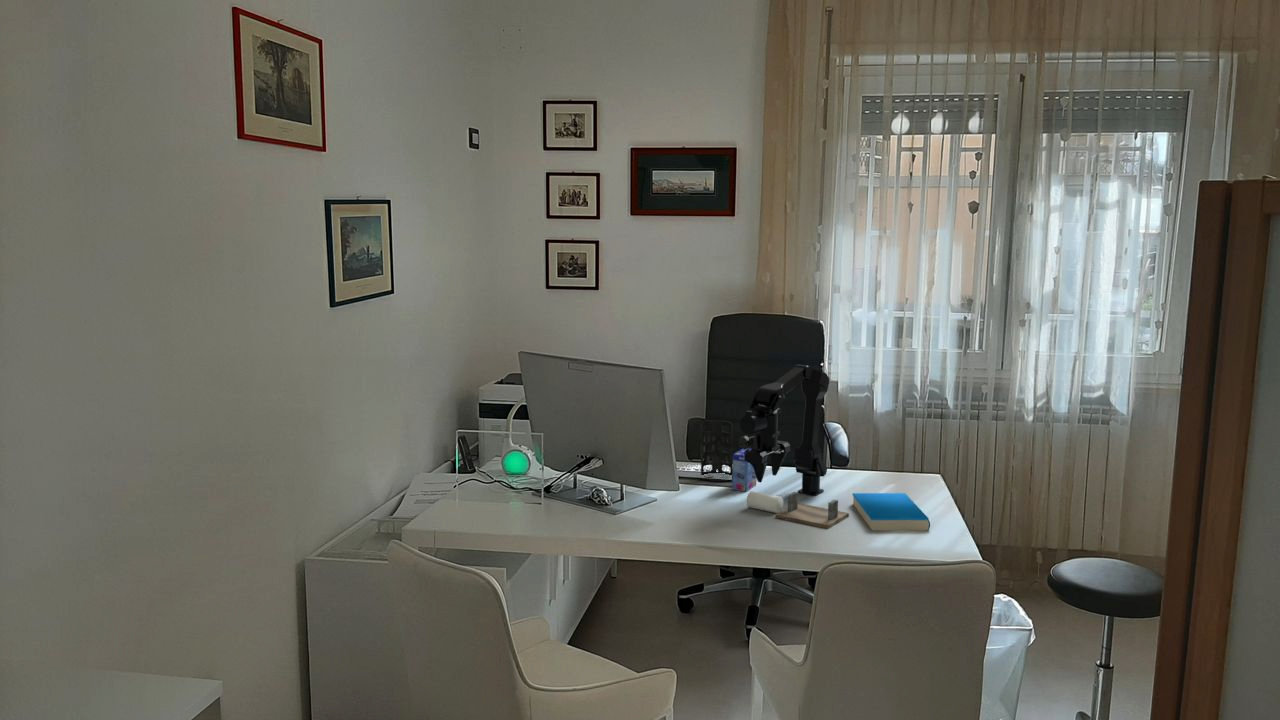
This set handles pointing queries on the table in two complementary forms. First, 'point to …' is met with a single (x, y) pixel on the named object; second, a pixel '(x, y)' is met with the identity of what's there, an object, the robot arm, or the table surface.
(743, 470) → the blue purple upright box
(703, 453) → the holder
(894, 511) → the book
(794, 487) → the table surface
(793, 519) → the roll holder
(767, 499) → the cylinder
